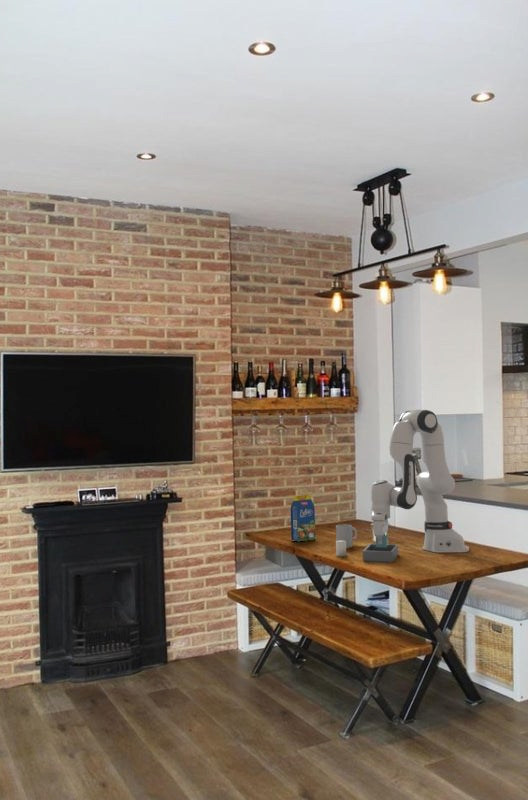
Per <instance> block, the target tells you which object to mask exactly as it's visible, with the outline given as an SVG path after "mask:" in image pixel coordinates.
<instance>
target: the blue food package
mask: <svg viewBox="0 0 528 800" xmlns="http://www.w3.org/2000/svg"><path fill="white" fill-rule="evenodd" d="M292 497H293V502H292V503H291V504H290V505H291V506H290V527H291V528H290V531H291V532H290V535H291V541H292V540H294V541H298V542H297V543H301V542H300V541H305V542H308V541H307V540H311V541H315V540H314V539H316V517H315V514H316V512H315V504H314V502H313V500H312V494H311V493H310V494H301V495H294V496H292Z"/></svg>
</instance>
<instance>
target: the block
mask: <svg viewBox="0 0 528 800" xmlns="http://www.w3.org/2000/svg"><path fill="white" fill-rule="evenodd" d="M382 540H383V543H382V544H378V537H376V536H375V544H376V547H385V548H386V547H387V546H388V544H389V538H388V535H387V534H385V535H383V536H382Z"/></svg>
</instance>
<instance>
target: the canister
mask: <svg viewBox="0 0 528 800" xmlns="http://www.w3.org/2000/svg"><path fill="white" fill-rule="evenodd" d="M335 556H336V557H339V556H344V557H346V556H347V548H346V541H344V540H339V541H336V540H335Z"/></svg>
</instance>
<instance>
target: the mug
mask: <svg viewBox="0 0 528 800" xmlns="http://www.w3.org/2000/svg"><path fill="white" fill-rule="evenodd" d="M353 531H354V537H353ZM335 537H336V539H335V542H336V541H339V540H344V541H346V549H349V548H348V547H351V548H353V547H352V546H354V544H353V543H354V542H353V541H357V538H358V530H357V528H356V527H353V525H352V524H347V523H346V524H345V523H344V524H337V525H335Z"/></svg>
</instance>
